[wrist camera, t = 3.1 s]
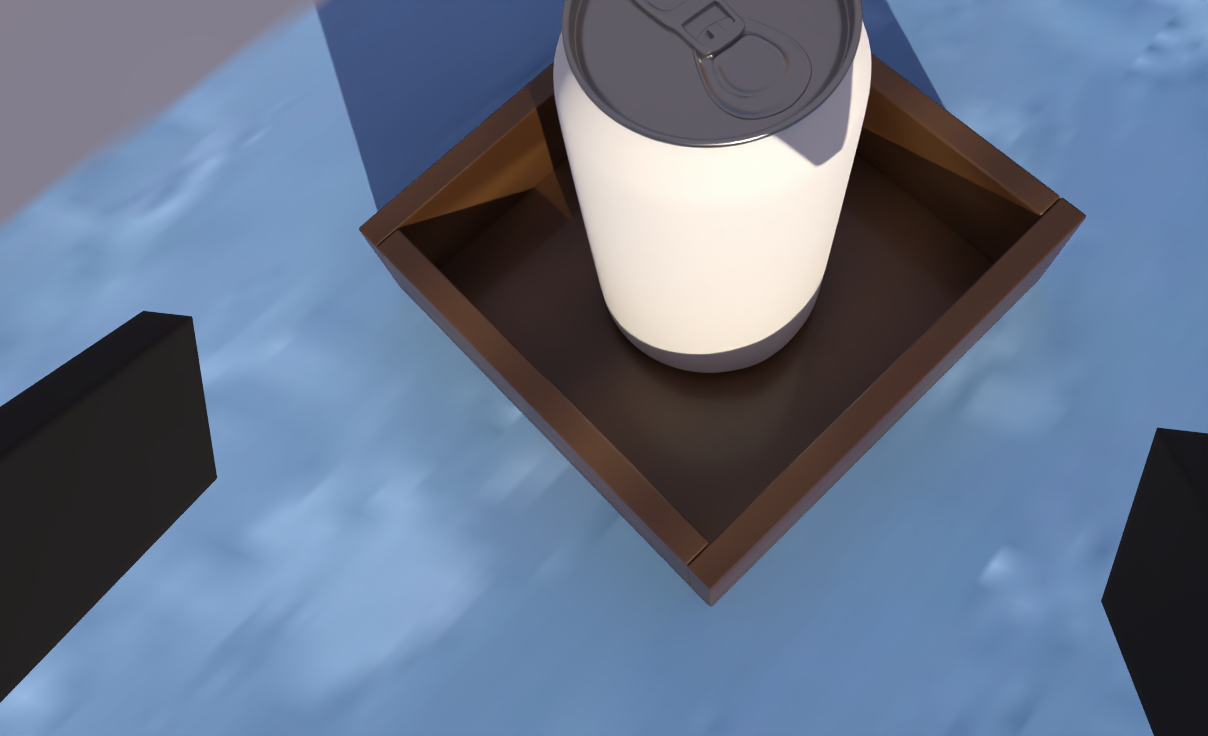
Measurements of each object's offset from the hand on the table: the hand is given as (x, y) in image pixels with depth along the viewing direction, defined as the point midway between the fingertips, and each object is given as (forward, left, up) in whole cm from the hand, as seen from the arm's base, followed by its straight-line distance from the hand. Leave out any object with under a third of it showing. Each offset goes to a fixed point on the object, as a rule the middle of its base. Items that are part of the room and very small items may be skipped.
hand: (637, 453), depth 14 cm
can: (-6, +7, -14) cm, 17 cm away
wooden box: (-6, +7, -15) cm, 17 cm away
